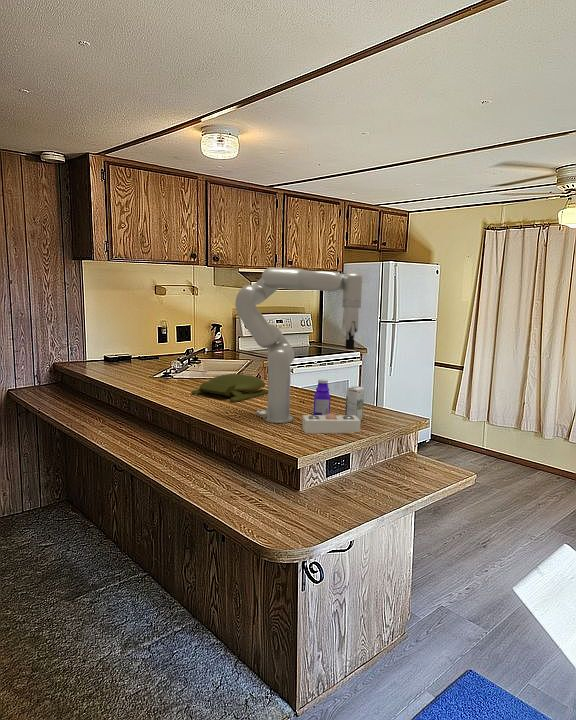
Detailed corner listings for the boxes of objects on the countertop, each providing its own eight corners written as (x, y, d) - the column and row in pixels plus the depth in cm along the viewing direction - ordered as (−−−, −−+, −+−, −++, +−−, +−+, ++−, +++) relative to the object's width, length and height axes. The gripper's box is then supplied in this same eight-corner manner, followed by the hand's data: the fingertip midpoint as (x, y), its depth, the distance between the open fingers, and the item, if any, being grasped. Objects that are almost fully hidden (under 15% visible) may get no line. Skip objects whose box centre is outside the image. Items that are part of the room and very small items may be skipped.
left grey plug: (309, 430, 214) (310, 417, 213) (308, 428, 217) (308, 415, 216) (318, 430, 214) (319, 417, 213) (317, 428, 217) (317, 415, 217)
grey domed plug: (344, 430, 215) (344, 417, 214) (342, 428, 218) (343, 415, 218) (353, 430, 215) (353, 417, 214) (351, 428, 219) (351, 415, 218)
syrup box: (351, 417, 237) (353, 385, 235) (363, 420, 234) (364, 387, 231) (344, 420, 233) (345, 387, 231) (356, 422, 229) (357, 389, 227)
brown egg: (327, 428, 214) (327, 415, 213) (325, 426, 218) (326, 413, 217) (336, 428, 214) (336, 415, 214) (334, 426, 218) (334, 413, 217)
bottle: (328, 417, 237) (330, 378, 234) (330, 420, 231) (331, 381, 229) (312, 417, 237) (313, 378, 234) (313, 420, 231) (314, 380, 228)
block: (305, 433, 211) (305, 420, 210) (302, 427, 220) (302, 415, 219) (359, 433, 213) (360, 420, 212) (355, 427, 222) (355, 415, 221)
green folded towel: (235, 403, 260) (235, 384, 258) (188, 395, 277) (188, 376, 275) (276, 392, 289) (276, 374, 287) (232, 385, 305) (232, 368, 304)
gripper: (339, 303, 225) (337, 346, 227) (346, 304, 210) (344, 351, 213) (356, 303, 225) (354, 347, 228) (364, 305, 211) (362, 351, 213)
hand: (349, 349), depth 220 cm, fingers closed
